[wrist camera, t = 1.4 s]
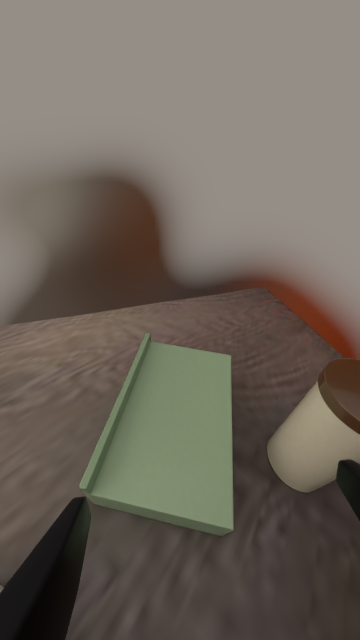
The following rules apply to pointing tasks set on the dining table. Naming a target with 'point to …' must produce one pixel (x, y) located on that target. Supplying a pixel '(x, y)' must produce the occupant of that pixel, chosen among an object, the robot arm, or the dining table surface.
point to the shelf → (169, 441)
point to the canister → (320, 429)
